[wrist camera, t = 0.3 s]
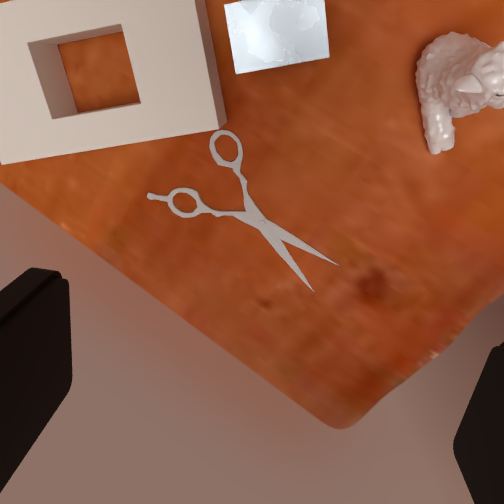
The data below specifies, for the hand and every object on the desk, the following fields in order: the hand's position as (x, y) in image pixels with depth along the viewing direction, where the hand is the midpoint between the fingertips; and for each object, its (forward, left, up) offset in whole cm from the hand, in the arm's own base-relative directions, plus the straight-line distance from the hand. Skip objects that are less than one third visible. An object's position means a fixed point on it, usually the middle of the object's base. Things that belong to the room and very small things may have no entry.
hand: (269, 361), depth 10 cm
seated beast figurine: (-2, +15, -35) cm, 38 cm away
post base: (-8, -15, -35) cm, 39 cm away
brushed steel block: (-8, +1, -35) cm, 35 cm away
